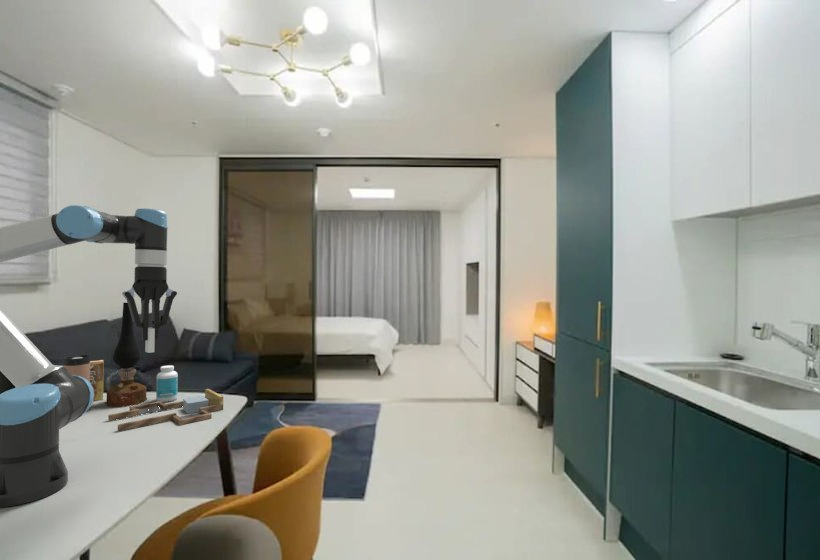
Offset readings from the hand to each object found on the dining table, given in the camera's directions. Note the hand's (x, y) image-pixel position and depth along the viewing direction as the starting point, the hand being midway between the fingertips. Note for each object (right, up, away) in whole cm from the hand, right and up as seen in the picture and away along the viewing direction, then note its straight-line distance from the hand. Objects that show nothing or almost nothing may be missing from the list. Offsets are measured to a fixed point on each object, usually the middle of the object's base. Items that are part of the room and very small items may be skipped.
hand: (149, 351), depth 116 cm
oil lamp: (-41, -29, +51) cm, 71 cm away
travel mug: (-50, -29, +38) cm, 69 cm away
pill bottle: (-26, -29, +54) cm, 67 cm away
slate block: (-9, -29, +43) cm, 53 cm away
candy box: (-56, -28, +52) cm, 81 cm away
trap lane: (-16, -29, +36) cm, 49 cm away
